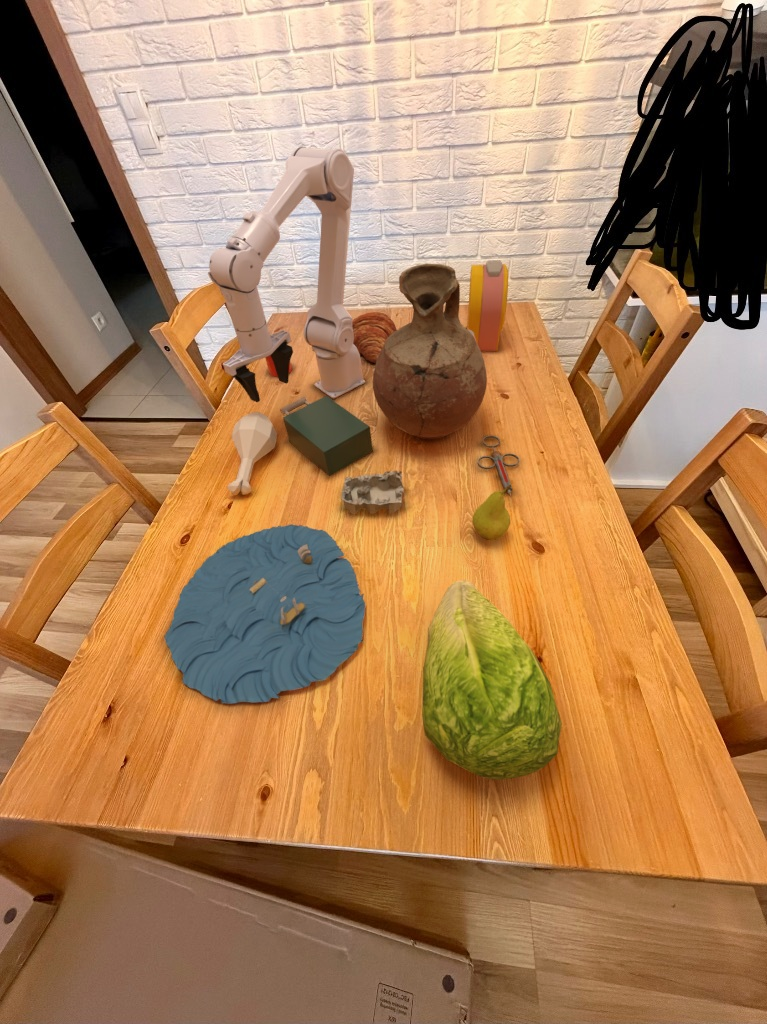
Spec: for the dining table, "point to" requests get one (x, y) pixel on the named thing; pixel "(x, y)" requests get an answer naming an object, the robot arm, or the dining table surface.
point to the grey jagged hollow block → (373, 492)
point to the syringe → (499, 463)
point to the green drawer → (294, 406)
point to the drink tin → (273, 366)
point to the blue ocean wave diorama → (267, 616)
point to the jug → (430, 359)
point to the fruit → (492, 516)
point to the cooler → (328, 435)
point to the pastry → (372, 333)
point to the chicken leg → (251, 447)
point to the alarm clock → (487, 303)
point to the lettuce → (486, 691)
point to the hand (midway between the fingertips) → (270, 390)
